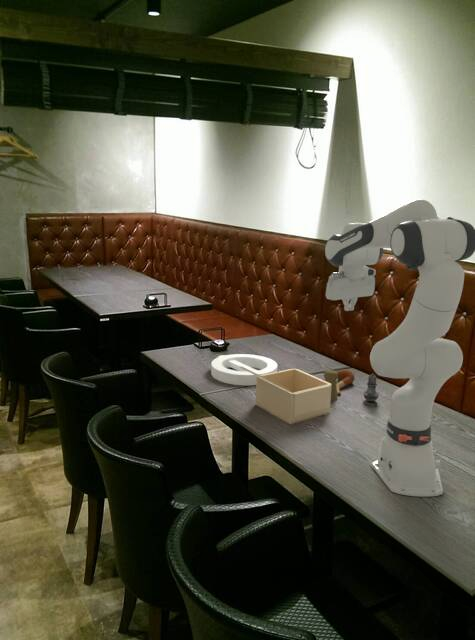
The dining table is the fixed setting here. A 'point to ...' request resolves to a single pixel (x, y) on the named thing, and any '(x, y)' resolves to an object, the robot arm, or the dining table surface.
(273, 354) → the dining table surface
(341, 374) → the smoking pipe
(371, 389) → the grey chess piece
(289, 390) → the carton flap
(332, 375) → the cork
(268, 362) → the ring with crossbar
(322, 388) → the carton
